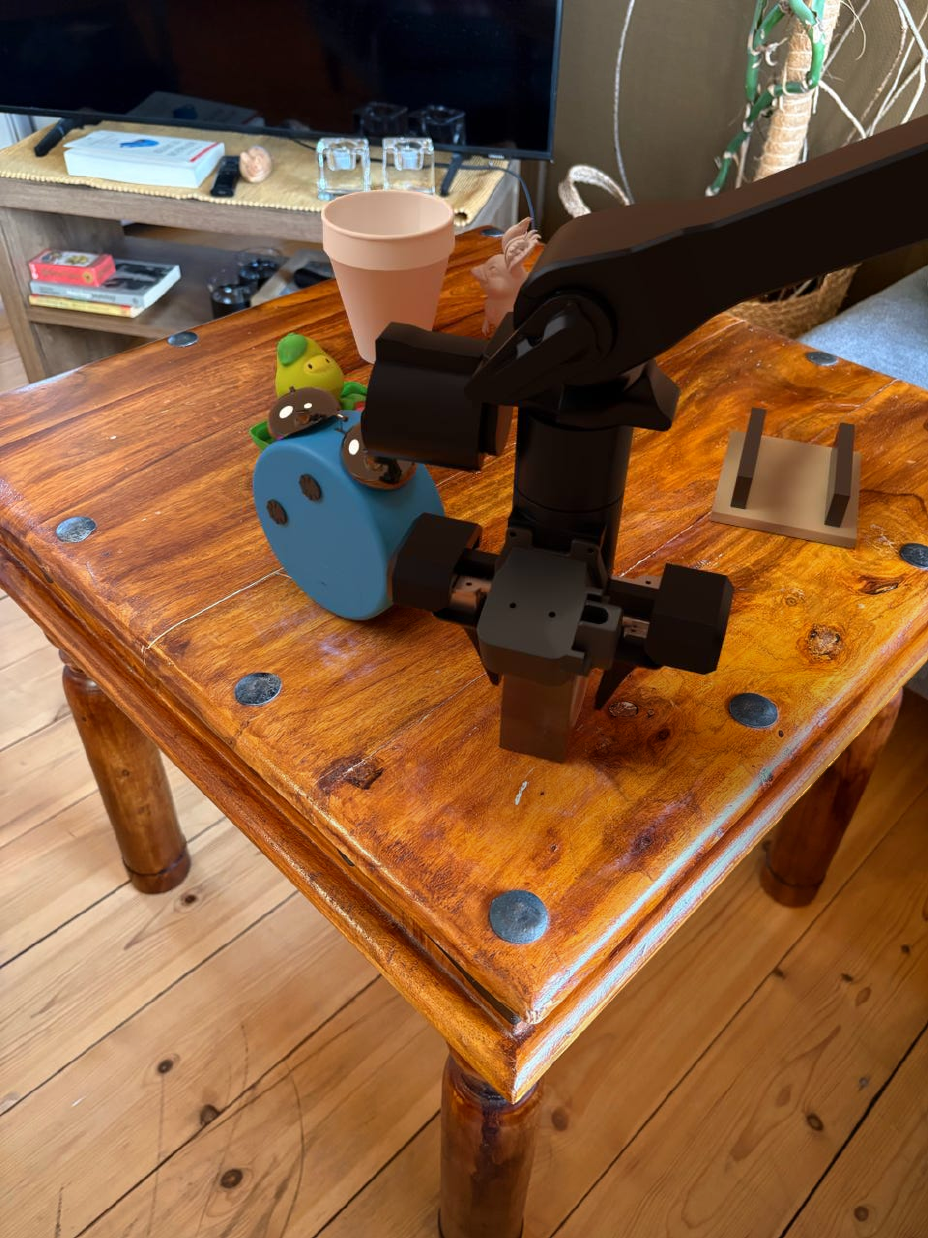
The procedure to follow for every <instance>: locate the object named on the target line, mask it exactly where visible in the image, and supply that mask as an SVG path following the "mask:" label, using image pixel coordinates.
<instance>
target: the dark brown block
mask: <svg viewBox="0 0 928 1238" xmlns="http://www.w3.org/2000/svg"><path fill="white" fill-rule="evenodd" d="M590 676H591V673H590V674H589V677H588V678H587V677H583V676H578V675H574V674H572V677H571V678H570V680H569V681H568V682H566V683H565V684H563V685H561V686H555V687H551V686H546V685H542V684H540V683H538V682H536V681H532V680H528V679H524V678H520V677H516V676H512V675H507V674H504V675H503V676H502V688H501V689H502V691H501V707H500V722H499V736H498V747H499V748H501V749H504V750H507V751H512V752H516V753H519V754H524V755H526V756H527V755H528V756H531V757H534V758H539V759H542V760H546V761H551V762H555V763H558V764H563V762H564V759H565V756H566V754H567V750H568V748H569V744H570V741H571V738H572V735H573V732H574V729H575V727H576V724H577V721H578V719H579V716H580V713H581V709H582V706H583V703H584V701H585V700H584V699H585V696H586V693H587V690H588V687H589V681H590Z"/></svg>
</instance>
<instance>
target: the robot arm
mask: <svg viewBox="0 0 928 1238" xmlns="http://www.w3.org/2000/svg"><path fill="white" fill-rule="evenodd" d="M924 243H928V113H925V114H924V115H922V116H919V117H916V118H913V119H911V120H908V121H906V122H903V123H901V124H898V125H896V126H893V127H890V128H887V129H885V130H882V131H880V132H877V133H875V134H872V135H869V136H867V137H865V138H862V139H860V140H857V141H854V142H851V143H850V144H846V145H844V146H841V147H839V148H836V149H834V150H832V151H829V152H826V153H824V154H821V155H818V156H816V157H813V158H811V159H807V160H805V161H803V162H800V163H797V164H795V165H792V166H790V167H787V168H785V169H782V170H779V171H777V172H774V173H772V174H769V175H767V176H765V177H764V176H763V177H762V178H759V179H757V180H753V181H752V182H749V183H746V184H743V185H741V186H738V187H736V188H733V189H730V190H728V191H725V192H722V193H719V194H713V195H708V196H703V197H698V198H694V199H659V200H658V199H656V200H654V199H653V200H646V201H639V202H636V203H632V204H627V205H622V206H617V207H611V208H606V209H602V210H597V211H593V212H588V213H584V214H581V215H577V216H575V217H574V218H573V219H571V220H569V221H567V222H566V223H565V224H562V225H561V226H560V227H559V228H558V229H557V230H556V231H555V232H554V233H553V234H552V236H551V237H550V238H549V240H548V242H547V243H546V244H545V246H544V248H543V250H542V251H541V253H540V254H539V256H538V258H537V259H536V261H535V263H534V265H533V266H532V268H531V269H530V271H528V272H529V274H528V276H527V277H526V279H525V281H524V282H523V284H522V285H521V287H520V290H519V292H518V295H517V297H516V300H515V303H514V305H513V312H507V313H506V314H505V316H504V318H503V319H502V321H501V323H500V324H499V326H498V328H496V329H495V331H494V333H493V334H492V336H491V337H490V339H487V338H478V337H473V336H472V337H471V336H464V335H458V334H452V333H445V332H439V331H433V330H432V331H428V330H425V329H422V328H420V327H417V326H415V325H410V324H404V323H398V322H390V323H389V324H388V325H387V326H386V328H385V329H384V330H383V331H382V333H381V334H380V335H379V336H378V338H377V339H376V340H375V352H376V360H375V363H374V364H373V366H372V368H371V372H370V375H369V379H368V383H367V386H366V387H367V394H366V400H365V408H364V410H363V411H362V413H361V417H360V422H361V435H362V441H363V444H364V447H365V449H366V451H367V452H368V453H369V454H371V455H374V456H380V457H386V458H391V459H397V460H403V461H408V462H414V463H420V464H424V465H425V466H432V467H438V468H443V469H449V470H455V471H460V472H465V473H470V474H475V473H477V472H482V470H483V467H484V464H485V460H486V457H487V455H488V456H491V457H496V458H500V457H501V456H502V455H503V454H504V451H505V449H506V446H507V443H508V440H509V437H510V433H511V428H512V424H513V423H512V422H513V415H514V408H517V416H516V417H517V418H516V437H515V453H514V466H513V467H514V469H513V470H514V471H513V487H512V503H511V504H512V505H511V511H510V514H509V515H508V518H507V527H506V531H505V537H504V538H505V539H504V540H505V541H504V544H503V546H502V548H501V549H500V552H499V553H498V554H497V553H493V552H489V551H483V550H479V549H478V548H480V546H481V544H482V542H483V526H482V525H480V523H477V522H474V521H473V522H472V521H468V520H463V519H460V518H459V519H458V518H453V517H450V516H446V515H445V516H446V517H445V516H440V515H435V514H430V513H425V512H424V513H422V514H421V515H420V516H419V517H417V518H416V519H415V520H414V521H413V522H412V524H411V526H410V527H409V529H408V530H407V532H406V534H405V535H404V537H403V538H402V540H401V541H400V543H399V545H398V546H397V548H396V549H395V551H394V553H393V554H392V556H391V557H390V559H389V563H388V567H387V572H386V582H387V595H388V597H389V598H390V600H391V601H392V603H395V604H396V605H399V606H405V607H408V608H413V609H417V610H421V611H424V612H425V611H426V612H430V613H431V614H432V616H433V618H434V619H435V620H437V621H440V622H445V623H448V624H452V625H455V626H459V627H461V628H462V629H463V630H464V632H465V633H466V635H467V637H468V639H469V640H470V642H471V644H472V645H473V647H474V650H475V652H476V653H477V656H478V658H479V660H480V662H481V664H482V666H483V668H484V670H485V673H486V675H487V677H488V679H489V681H490V683H491V685H492V686H496V687H498V686H500V683H501V681H502V680H503V675H504V674H507V675H512V676H516V677H520V678H524V679H528V680H532V681H536V682H538V683H540V684H542V685H546V686H551V687H555V686H561V685H563V684H565V683H566V682H568V681H569V680H570V678H571V677H572V674H574V675H578V676H583V677H587V678H588V677H589V678H590V676H589V674H590V675H591V671H592V670H594V669H599V670H600V669H601V670H603V671H602V674H601V677H600V680H599V683H598V686H597V689H596V693H595V696H594V703H593V710H594V711H598V712H601V711H602V709H603V708H604V707H605V705H606V704H607V703H608V701H609V700H610V699H611V697H612V696H613V695H614V693H616V691H617V689H618V688H619V686H620V685H621V684H622V682H623V681H624V680H625V679H626V678H627V677H628V676H629V675H630V674H631V673H632V672H633V671H634V670H636V669H637V668H639V669H645V670H650V671H659V670H662V669H663V668H664V667H667V668H671V669H674V670H675V669H676V670H680V671H684V672H687V673H688V672H689V673H692V674H696V675H702V676H706V675H710V674H712V673H714V672H717V670H718V666H719V662H720V659H721V655H722V651H723V647H724V642H725V638H726V633H727V629H728V625H729V618H730V614H731V609H732V605H733V604H732V603H733V598H734V593H735V586H734V585H733V582H732V581H731V580H730V578H729V576H728V575H726V574H721V573H717V572H713V571H707V570H703V569H698V568H693V567H688V566H685V565H679V564H674V563H669V562H665V564H664V565H665V566H664V568H663V572H662V576H657V575H652V574H642V575H639V576H637V577H635V578H630V577H625V576H620V575H616V574H614V573H613V572H614V567H615V566H614V565H615V558H616V553H617V552H616V551H617V546H618V540H619V539H618V538H619V531H620V527H621V526H620V525H621V520H622V519H621V518H622V513H623V512H622V511H623V507H624V506H623V505H624V500H625V493H626V492H625V491H626V485H627V478H628V471H629V463H630V458H631V451H632V445H633V444H632V443H633V438H634V432H635V428H637V429H643V430H650V431H656V432H660V433H661V432H663V433H665V432H668V431H669V430H671V428H672V426H673V422H674V420H675V415H676V411H677V408H678V404H679V400H680V397H681V387H680V386H679V385H678V384H677V383H676V382H674V381H673V380H672V379H671V378H670V376H668V375H667V374H666V373H664V372H663V371H662V370H661V368H660V367H659V365H658V363H657V362H658V361H657V360H656V359H655V358H656V357H658V356H660V355H663V354H665V353H666V352H668V351H669V350H671V349H672V348H674V347H675V346H676V345H678V344H679V343H680V342H682V341H683V340H684V339H686V338H688V336H690V335H692V334H693V333H694V332H695V331H697V330H698V329H700V328H701V327H703V326H704V325H705V324H707V323H708V322H709V321H710V320H712V319H713V318H715V317H717V316H719V315H721V314H723V313H725V312H727V311H728V310H731V309H732V308H734V307H736V306H738V305H740V304H742V303H746V302H749V301H751V300H755V299H757V298H761V297H763V296H766V295H770V294H772V293H776V292H779V291H783V290H785V289H787V288H791V287H794V286H797V285H800V284H804V283H806V282H809V281H812V280H815V279H818V278H821V277H824V276H827V275H830V274H833V273H836V272H840V271H842V270H845V269H849V268H851V267H854V266H858V265H862V264H863V263H867V262H869V261H872V260H876V259H878V258H882V257H884V256H885V257H886V256H888V255H891V254H894V253H897V252H900V251H903V250H907V249H909V248H912V247H915V246H918V245H921V244H924ZM395 604H394V605H395Z"/></svg>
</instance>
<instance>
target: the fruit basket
mask: <svg viewBox="0 0 928 1238" xmlns="http://www.w3.org/2000/svg"><path fill="white" fill-rule="evenodd" d="M276 366H277V368H276V374H275V378H274V379H275V381H274V385H275V392H276V396H277V398H278V399H279V398H280V397H281V396H283V395H285V394H287V393H289V392H290V390H289V387H291V386H294V389H295V390H296V389H299V388H302V387H318V388H322V389H324V390H327V391H328V392H330V393H331V394H333V395H334V396H335V397H336V399H337V400H338V402H339V404H340V407H341V410H340V411H342V410H352V411H358V412H361V413H362V411H363V410H364V408H365V400H366V394H367V387H368V386H366V385H364V384H361V383H360V382H357V381H345V379H346V378H345V375H344V373H343V370H342V369H341V367H340V366H339V364H338V363H337V362H336V360H335V359H334V358H333V357H331V356H330V355H329V354H328V353H327V352H325V351H324V350H323V349H322V347H321V346H320V345H319V344H318V342H317V341H315V340H314V339H312V338H310V337H308V336H305V335H302V334H296V332H294V331H293V332H290V333H287V334H286V336H284V337H282V338H281V339H280V340H279V342H278V343H277V346H276ZM278 399H277V400H278ZM248 432H249V435H250V437H251V439H252V441H253V443H254V444H255V446H257V448H258V449H259V451H260V454H261V453H262V452H263V451H264V449H265V448H267V447H268V446H269V445H271V444H272V443H274V442H276V441H278V440H280V439H282V438H284V437H286V436H288V435H290V434H291V433H290V434H287V435H283V436H279V437H271V435H270V433H269V431H268V427H267V418H266V419H265V420H262V421H260V422H259V423H257V424H255V425H253V426H252V427H250V428H249V430H248Z"/></svg>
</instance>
